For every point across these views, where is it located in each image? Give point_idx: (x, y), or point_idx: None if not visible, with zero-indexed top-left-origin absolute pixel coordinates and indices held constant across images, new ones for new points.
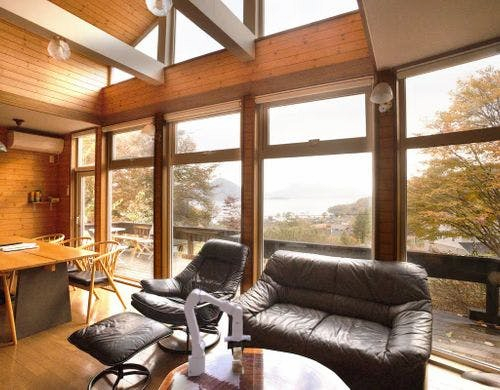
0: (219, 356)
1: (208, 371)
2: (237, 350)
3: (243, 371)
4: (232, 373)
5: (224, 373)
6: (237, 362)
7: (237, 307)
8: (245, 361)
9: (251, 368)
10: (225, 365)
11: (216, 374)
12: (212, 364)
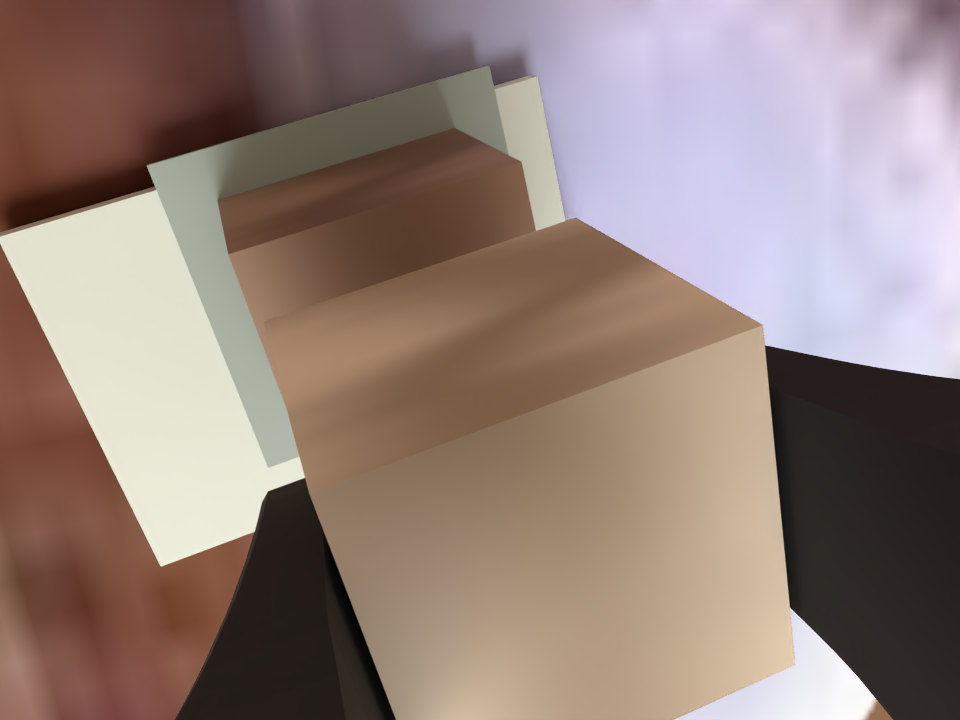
0: (761, 713)
1: (952, 190)
2: (576, 486)
3: (194, 246)
4: (473, 114)
5: (649, 152)
6: None
7: None
8: None
9: (18, 472)
10: None
11: (810, 90)
12: None
